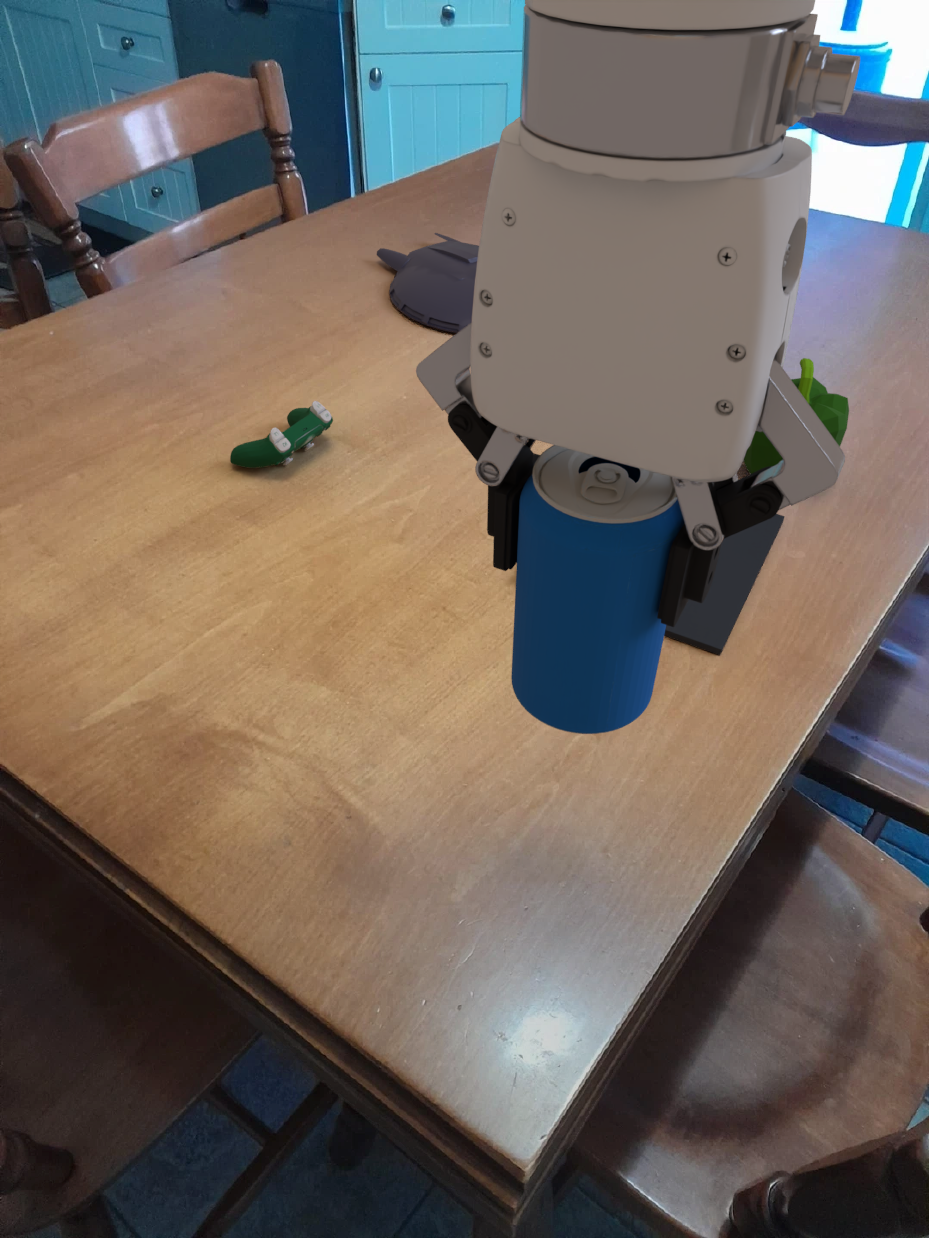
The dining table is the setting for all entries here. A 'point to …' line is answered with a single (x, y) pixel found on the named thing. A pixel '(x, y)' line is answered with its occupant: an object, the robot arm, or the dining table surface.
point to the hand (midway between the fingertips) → (594, 574)
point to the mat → (726, 588)
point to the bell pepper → (823, 404)
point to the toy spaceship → (435, 283)
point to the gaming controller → (284, 439)
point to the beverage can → (590, 589)
